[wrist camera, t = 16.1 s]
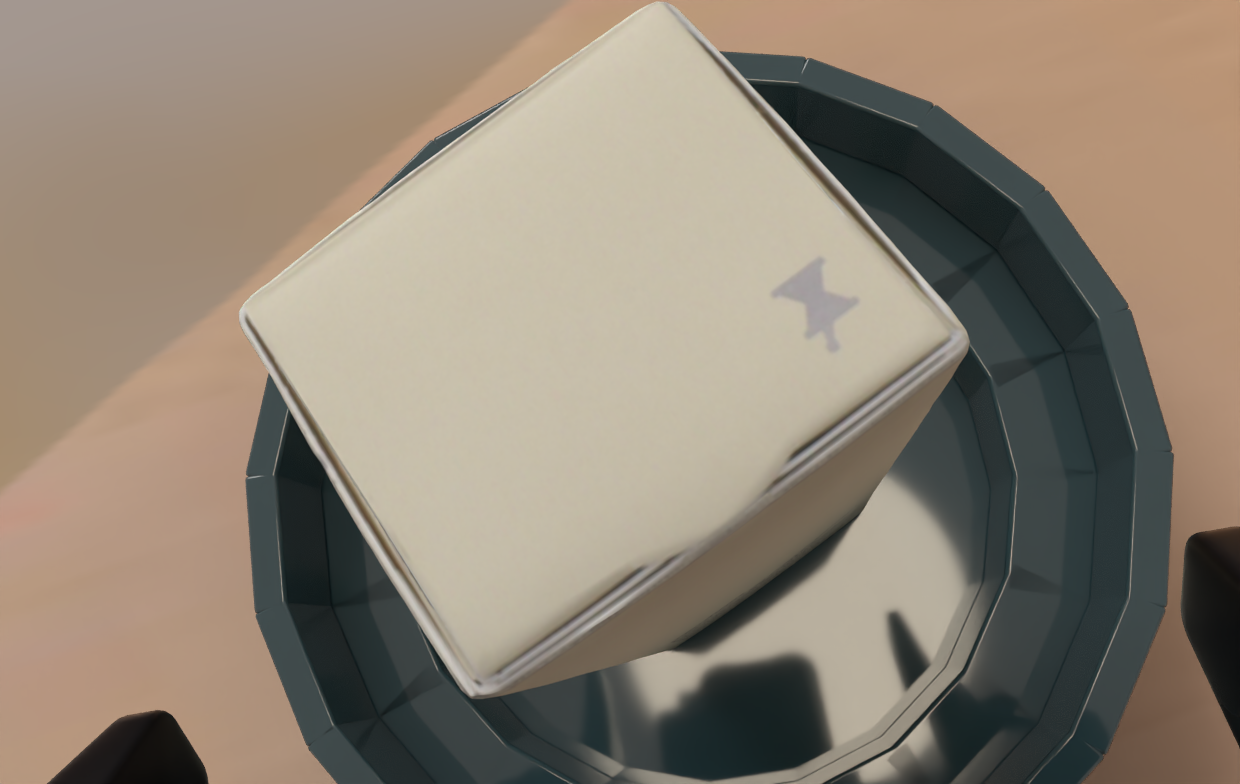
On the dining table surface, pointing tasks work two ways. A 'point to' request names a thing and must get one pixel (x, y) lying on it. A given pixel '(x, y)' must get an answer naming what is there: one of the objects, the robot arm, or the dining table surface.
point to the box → (604, 361)
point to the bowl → (838, 567)
